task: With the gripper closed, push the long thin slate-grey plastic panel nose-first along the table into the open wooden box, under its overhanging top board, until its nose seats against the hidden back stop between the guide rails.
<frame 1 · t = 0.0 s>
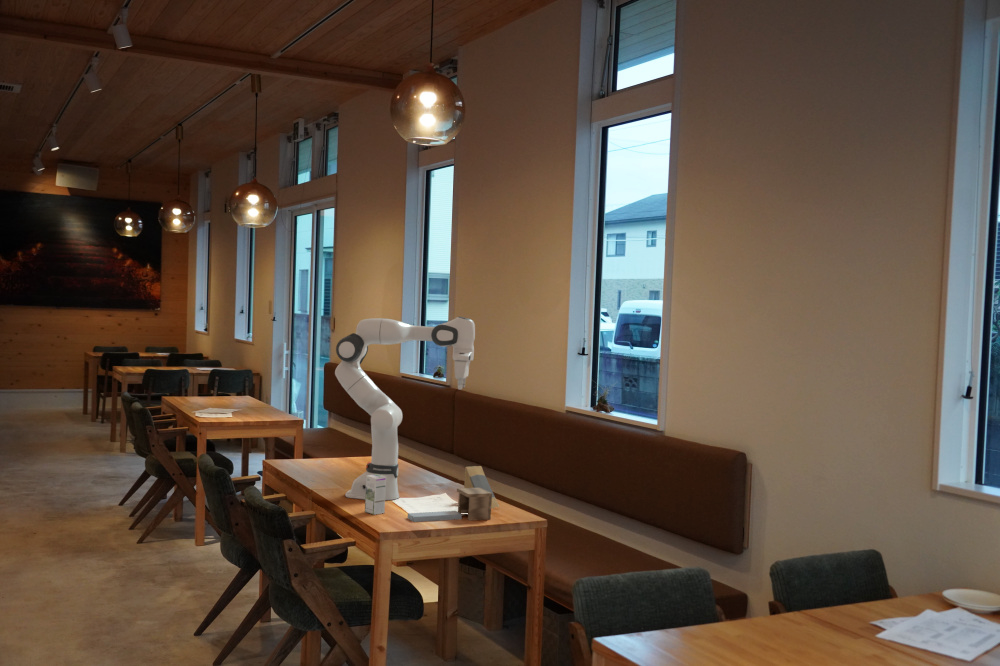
hand: (461, 388, 364), 48 cm above the table, tool pointing down, fingers open, 8 cm apart
open wooden box: (467, 516, 339), on the table
panel: (434, 519, 333), on the table
syrup box: (374, 513, 337), on the table
sandwich container: (481, 505, 364), on the table
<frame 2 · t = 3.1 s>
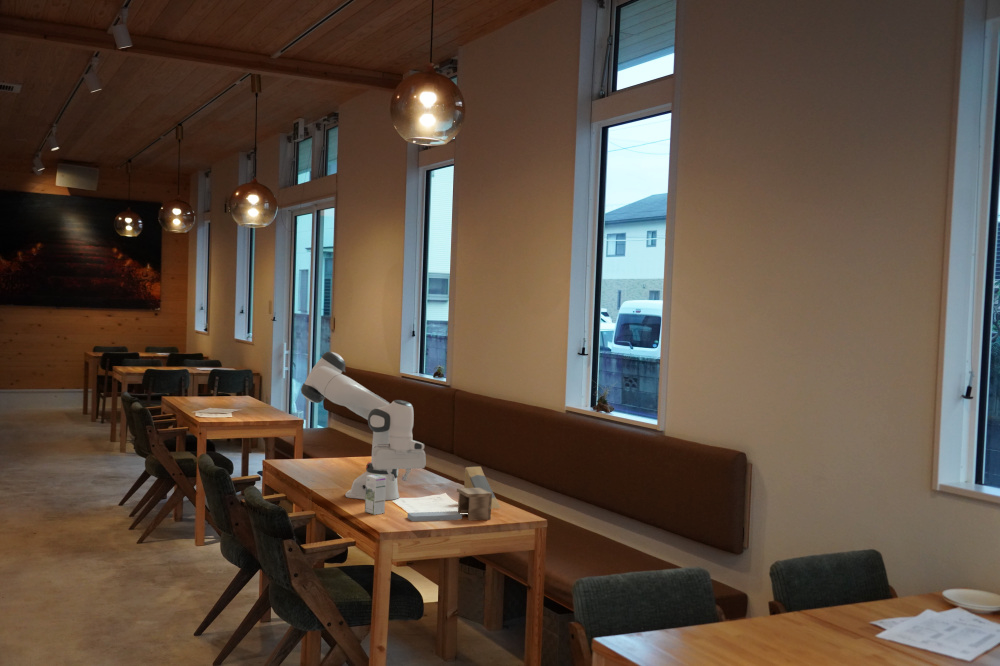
hand: (398, 480, 326), 15 cm above the table, tool pointing down, fingers open, 4 cm apart
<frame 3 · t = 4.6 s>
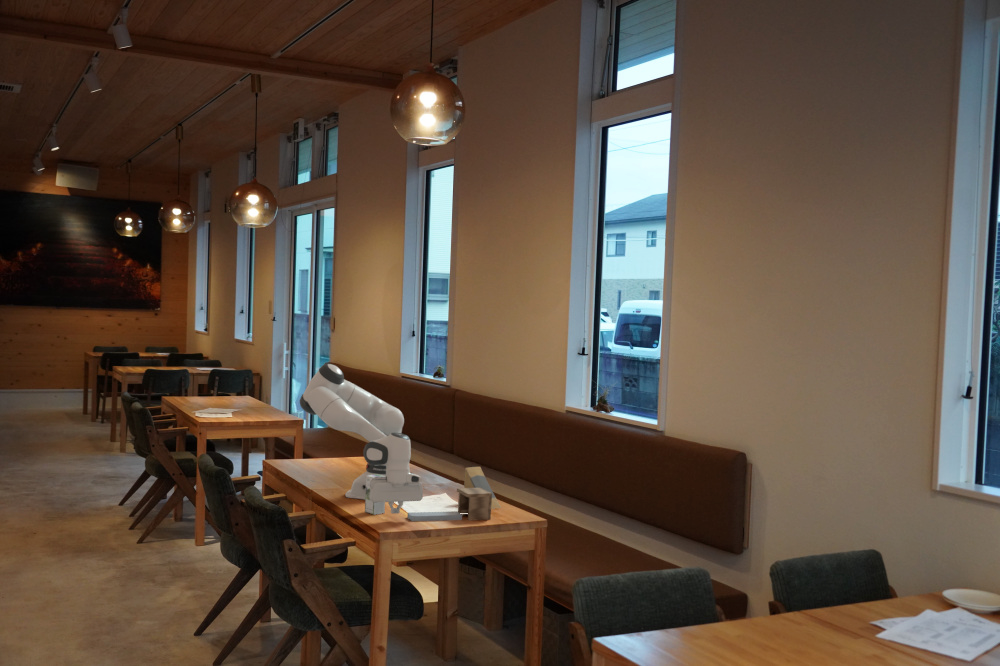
hand: (395, 513, 326), 3 cm above the table, tool pointing down, fingers closed
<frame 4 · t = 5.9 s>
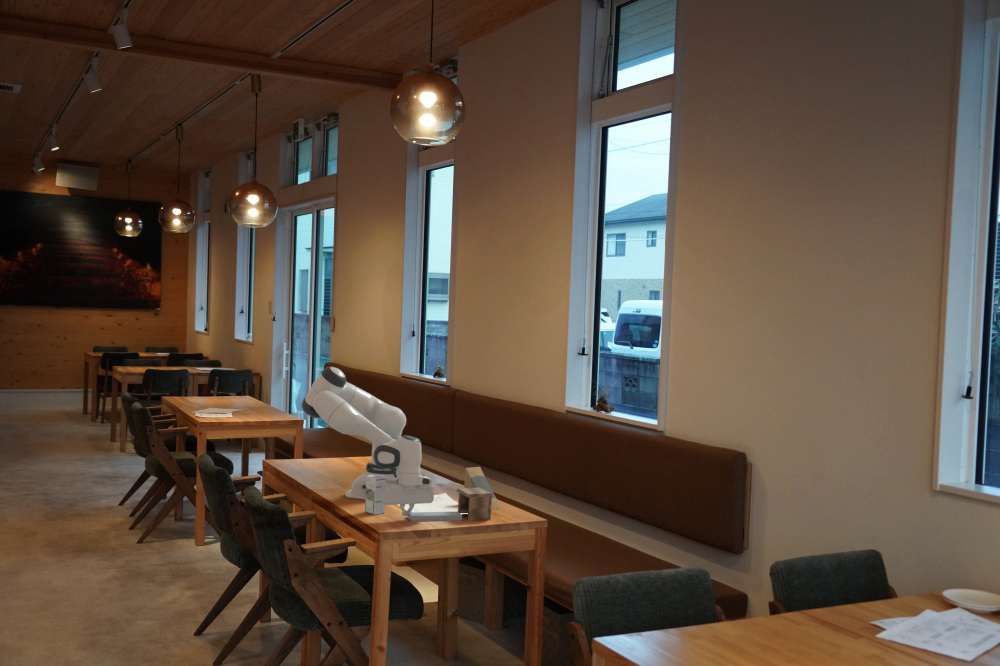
hand: (406, 515, 328), 2 cm above the table, tool pointing down, fingers closed
panel: (434, 519, 333), on the table, touching gripper
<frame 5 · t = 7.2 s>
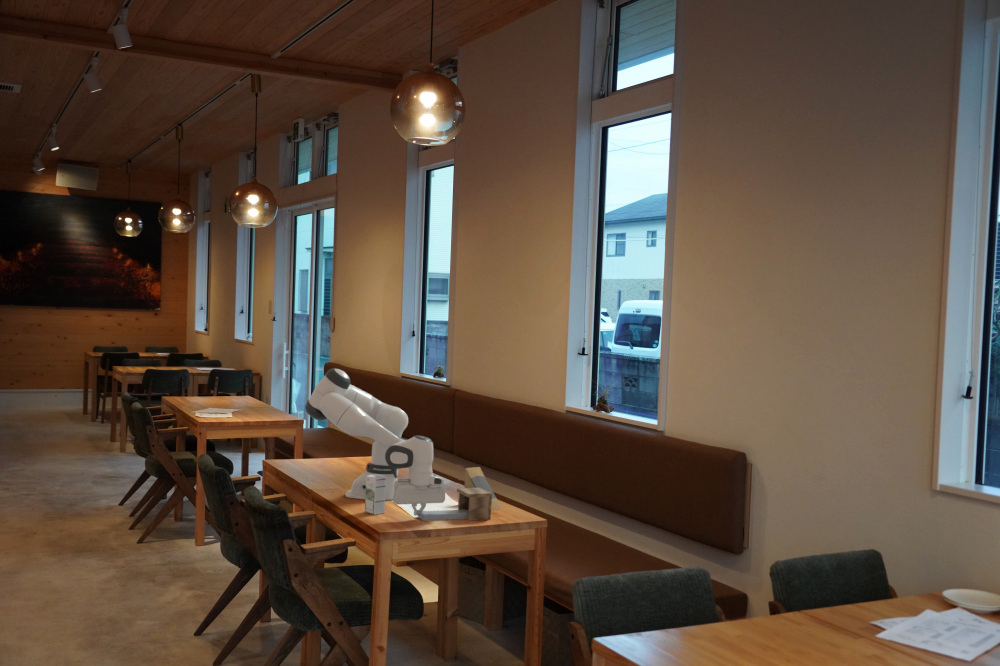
hand: (418, 515, 330), 2 cm above the table, tool pointing down, fingers closed
panel: (444, 518, 336), on the table
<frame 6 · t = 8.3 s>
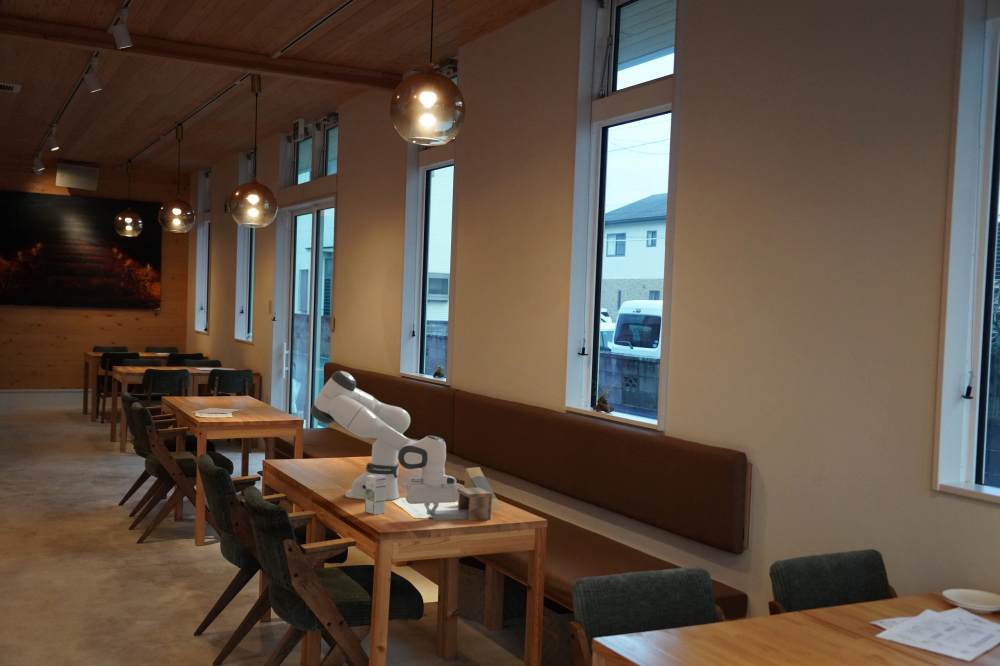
hand: (430, 514, 332), 2 cm above the table, tool pointing down, fingers closed
panel: (457, 517, 338), on the table
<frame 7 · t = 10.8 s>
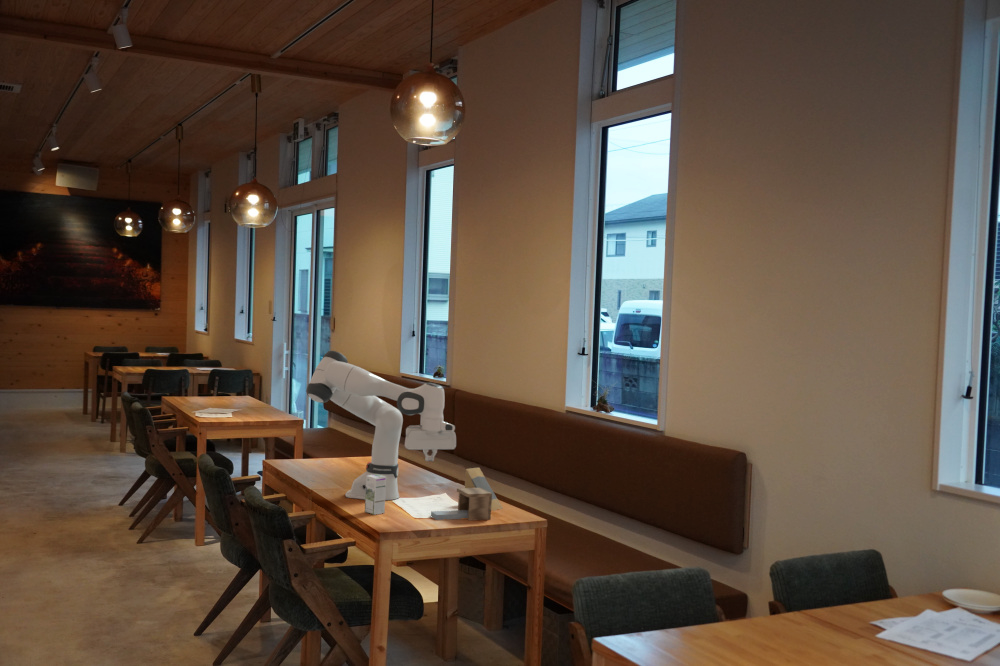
hand: (429, 460, 334), 22 cm above the table, tool pointing down, fingers closed
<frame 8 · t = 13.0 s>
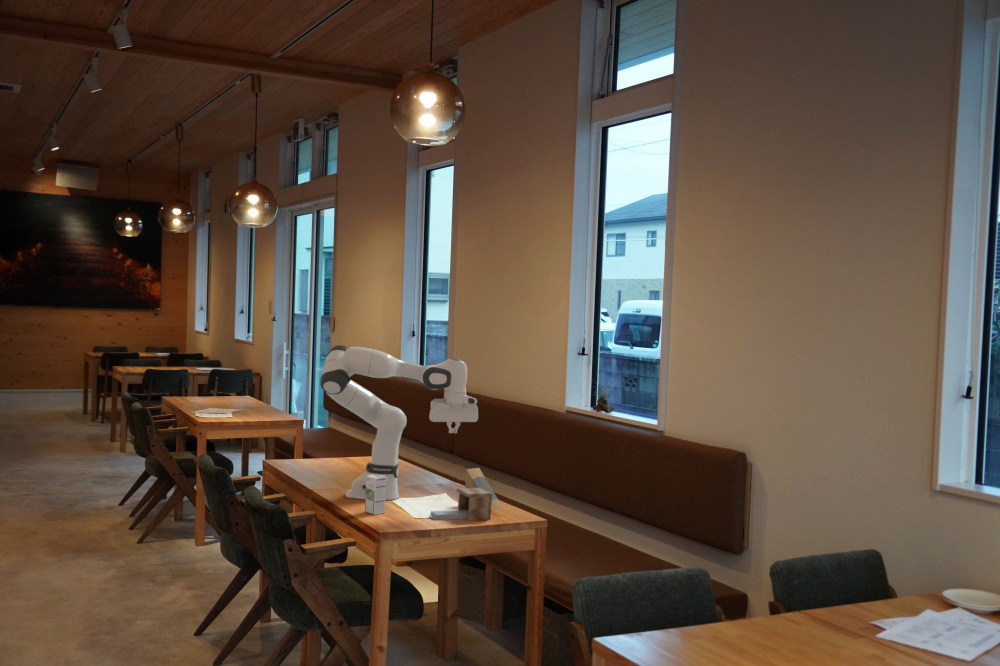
hand: (452, 433, 349), 31 cm above the table, tool pointing down, fingers closed
at the end: panel 0.6 cm from the target spot on the open wooden box, point -0.5 cm above the open wooden box's base; panel tilted 0°; panel moved 9.9 cm from its start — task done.
